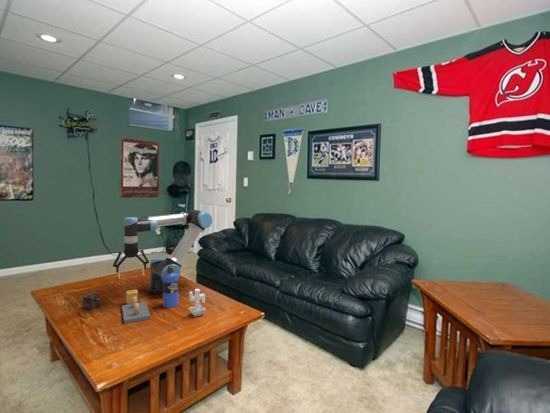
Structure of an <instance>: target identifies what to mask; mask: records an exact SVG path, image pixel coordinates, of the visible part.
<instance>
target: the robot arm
mask: <svg viewBox="0 0 550 413" xmlns="http://www.w3.org/2000/svg"><path fill="white" fill-rule="evenodd" d="M212 223H213V216H212V215H211V213H210V212H208V211H206V210H200V209H199V210H198V209H195V210H194V209H193V210H186V211H180V213H172V214H162V215H161V214H160V215H153V216H144V217H143V216H141V217H140V216H130V217H129V216H128V217H127V216H126V217H125V218H124V219H123V232H124V233H123V235H124V237H123V238H124V240H123V241H124V242H123V243H124V248H123V250H119V251H118V253H117V254H118V255H117V256H116V258H115V260H114V262H113V263H112V267H113V268H115V272H116V273H118V276H117V277H118V279H120V278H121V265H122V264H123V262H124V261H125V260H126V259H127V258H129V259H130V258H135V257H136V258H137V259H138V260H139V261H140V262H141V263H142V265H141V266H142V269H141V270H142V276H145V270H146V269H147V264H149V270H150V272H149V273H150V275H149V276H150V281H149V284H148V287H147V291H148V293H151V294H161V293H162V294H163V289H164V285H163V275H164V274H166V273H167V269H168V268H167V267H168V266H170V265H172V266H173V267H174V268H173V269H174V273H177V274H178V278H179V276H180V275H181V268H182V266H183V264H182V262H183V260H185V257H186V255H187V254H188V252H190V250H191V248H192V246H193V245H194V243H195V241H196V240H197V238H199V235H200V234H201V233H204V231H205V230H206V229H208V228H210V227H211V225H212ZM173 225H174V226H175V225H183V226H185V225H189V226H188V228H187V230H186V231H185V233H184V234H183V236H182V238H181V239H180V240H179V242H178V244H177V245H176V247H175V248H174V249H173V251H172V253H171V254H170V256H159V257H154V258H151V259H150V261H149V259H148V258H147V256H146V254H145V253H144V249H143V248H141V249H139V244H138V243H139V239H138V238H139V237H138V236H139V234H138V233H142V232H144V233H145V232H153V231H156V230H157V229H158V227H165V226H173ZM138 253H140V254H141V255H142V257H143V258H141V256H140V255H139V254H138ZM122 255H124V256H123V257H122V258H121V256H122ZM120 258H121V259H120ZM119 259H120V260H119Z"/></svg>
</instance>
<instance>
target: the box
mask: <svg viewBox="0 0 550 413" xmlns="http://www.w3.org/2000/svg"><path fill="white" fill-rule="evenodd" d="M82 300H83V301H82V303H83V309H84V308H86V309H85V310H94V309H95V307H96V308H98V307H100V294H97V293H89V294H87V295H85V296H83V297H82ZM97 306H98V307H97ZM93 308H94V309H93Z"/></svg>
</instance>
